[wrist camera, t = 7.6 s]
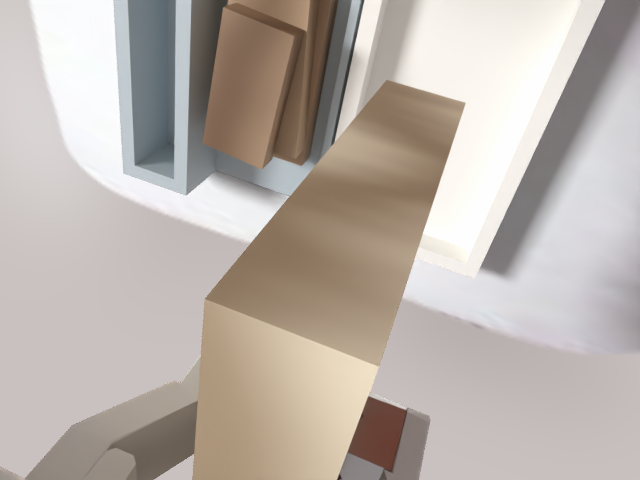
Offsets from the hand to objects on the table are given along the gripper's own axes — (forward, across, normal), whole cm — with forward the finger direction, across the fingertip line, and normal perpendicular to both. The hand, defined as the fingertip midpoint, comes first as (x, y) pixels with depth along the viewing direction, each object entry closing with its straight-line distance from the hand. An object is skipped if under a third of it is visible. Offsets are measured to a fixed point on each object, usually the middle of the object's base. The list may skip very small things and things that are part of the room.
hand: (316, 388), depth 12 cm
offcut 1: (+16, +9, 0) cm, 18 cm away
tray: (+20, 0, 0) cm, 20 cm away
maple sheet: (+5, 0, 0) cm, 5 cm away
